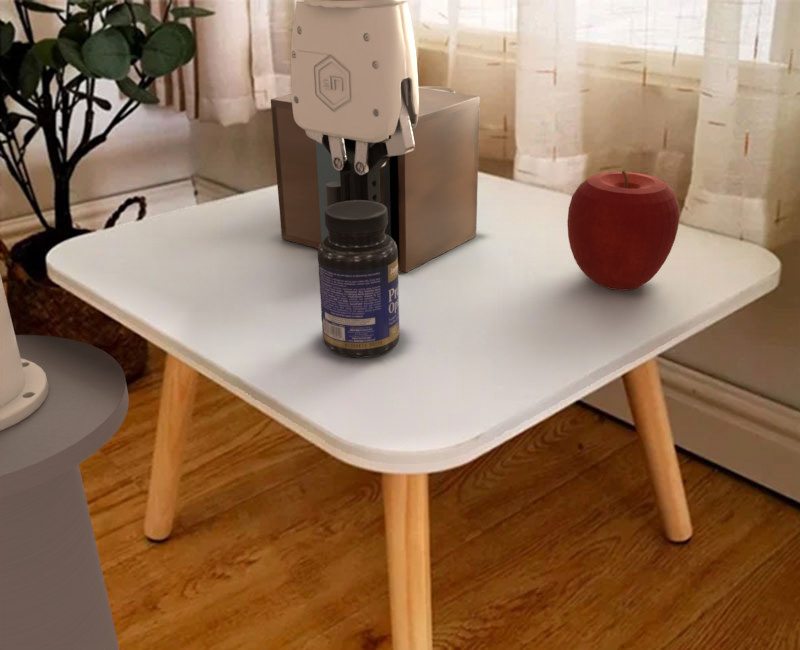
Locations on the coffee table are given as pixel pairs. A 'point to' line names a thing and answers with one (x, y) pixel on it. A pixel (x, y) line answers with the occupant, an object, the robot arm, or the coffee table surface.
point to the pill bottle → (358, 280)
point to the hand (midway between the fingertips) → (361, 214)
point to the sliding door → (332, 186)
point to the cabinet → (394, 178)
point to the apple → (622, 227)
